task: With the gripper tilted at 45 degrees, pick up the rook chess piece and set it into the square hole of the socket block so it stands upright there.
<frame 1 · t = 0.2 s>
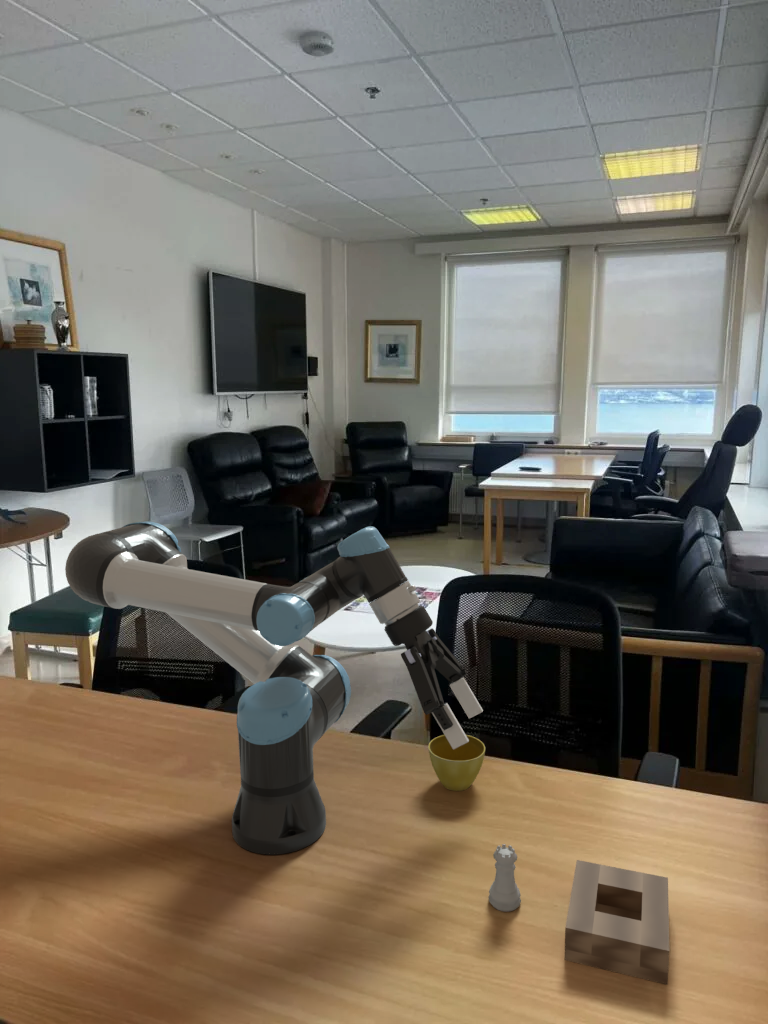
hand: (469, 729, 121), 16 cm above the table, tool tilted 35°, fingers open, 13 cm apart
rook chess piece: (504, 903, 103), on the table
flower pot: (456, 784, 134), on the table
socket block: (617, 932, 97), on the table
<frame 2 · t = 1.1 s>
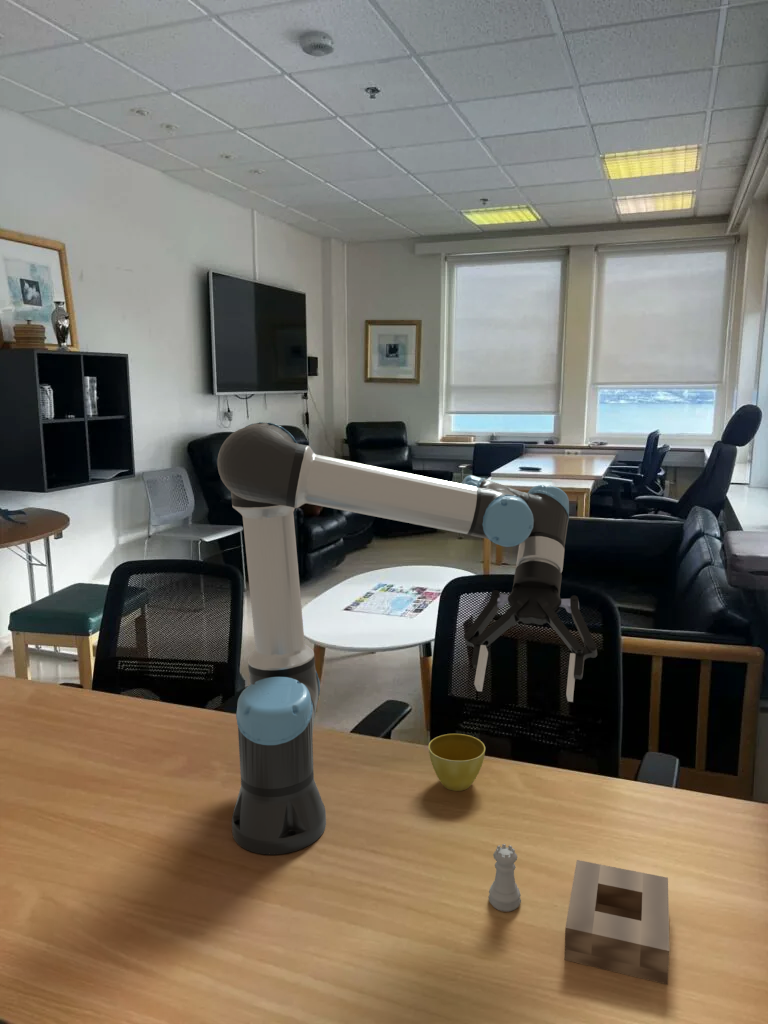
hand: (522, 693, 111), 25 cm above the table, tool tilted 45°, fingers open, 13 cm apart
nothing on the table moved.
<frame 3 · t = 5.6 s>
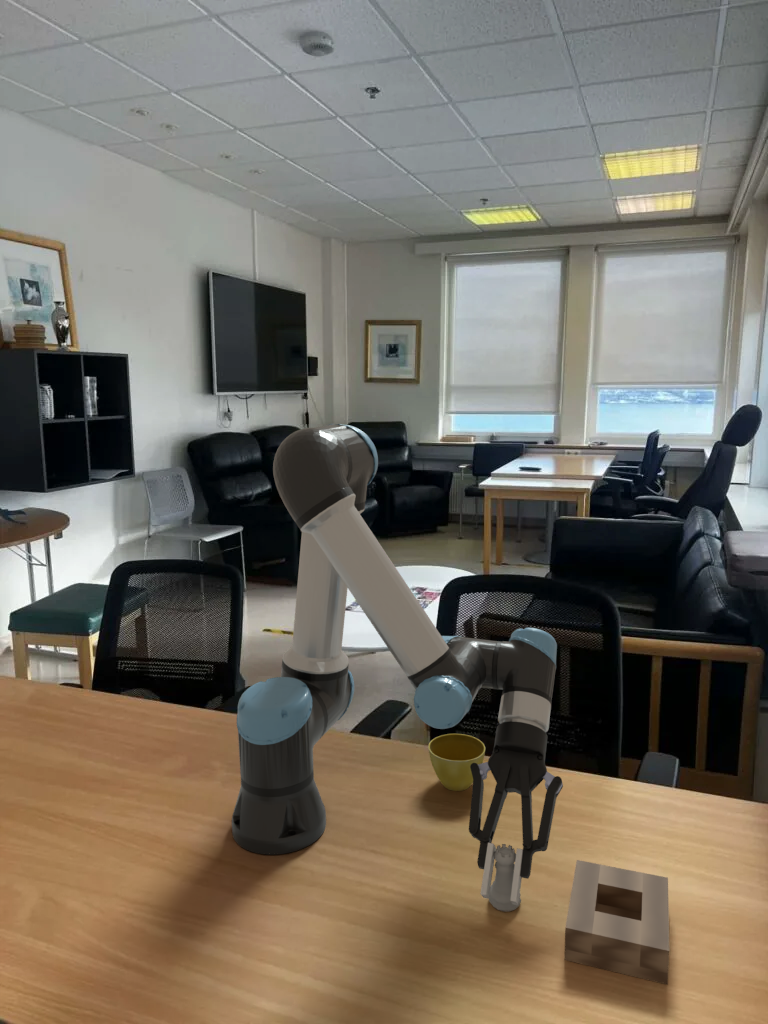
hand: (499, 899, 99), 3 cm above the table, tool tilted 45°, fingers closed on rook chess piece, 3 cm apart
rook chess piece: (504, 903, 103), on the table, touching gripper
everything else where it was.
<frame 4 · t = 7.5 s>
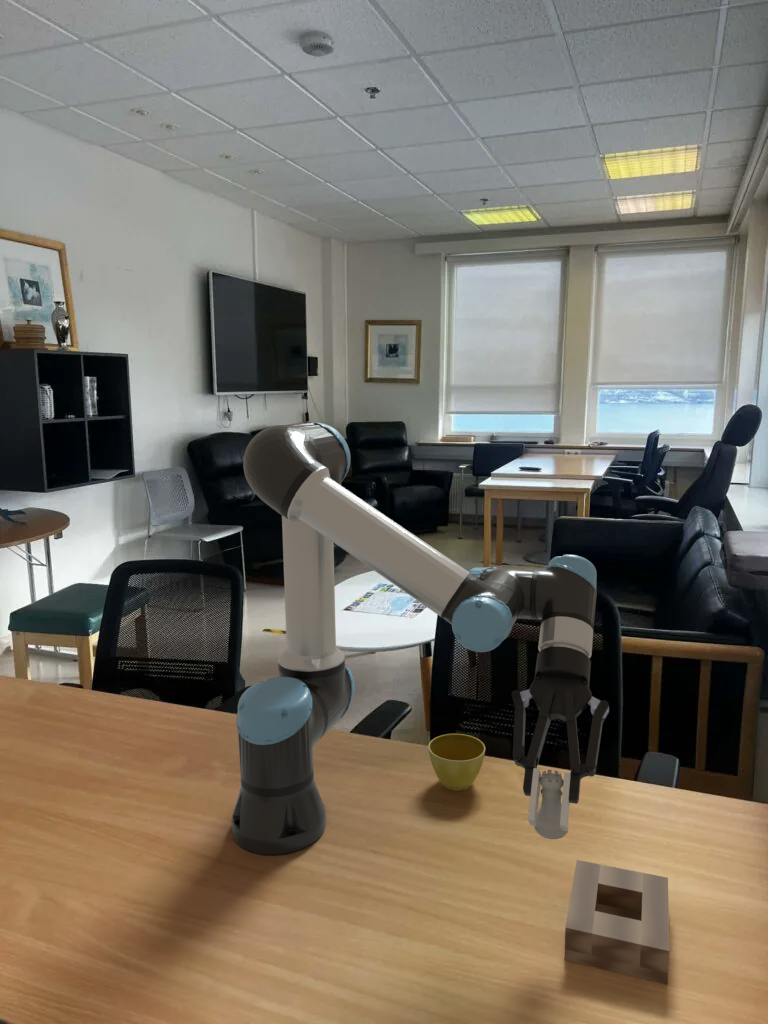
hand: (547, 824, 95), 15 cm above the table, tool tilted 45°, fingers closed on rook chess piece, 3 cm apart
rook chess piece: (551, 832, 99), point 12 cm above the table, touching gripper
everything else where it was.
when the fingers open (9 cm above the table, at t = 9.5 s): rook chess piece drops 4 cm, resting on socket block.
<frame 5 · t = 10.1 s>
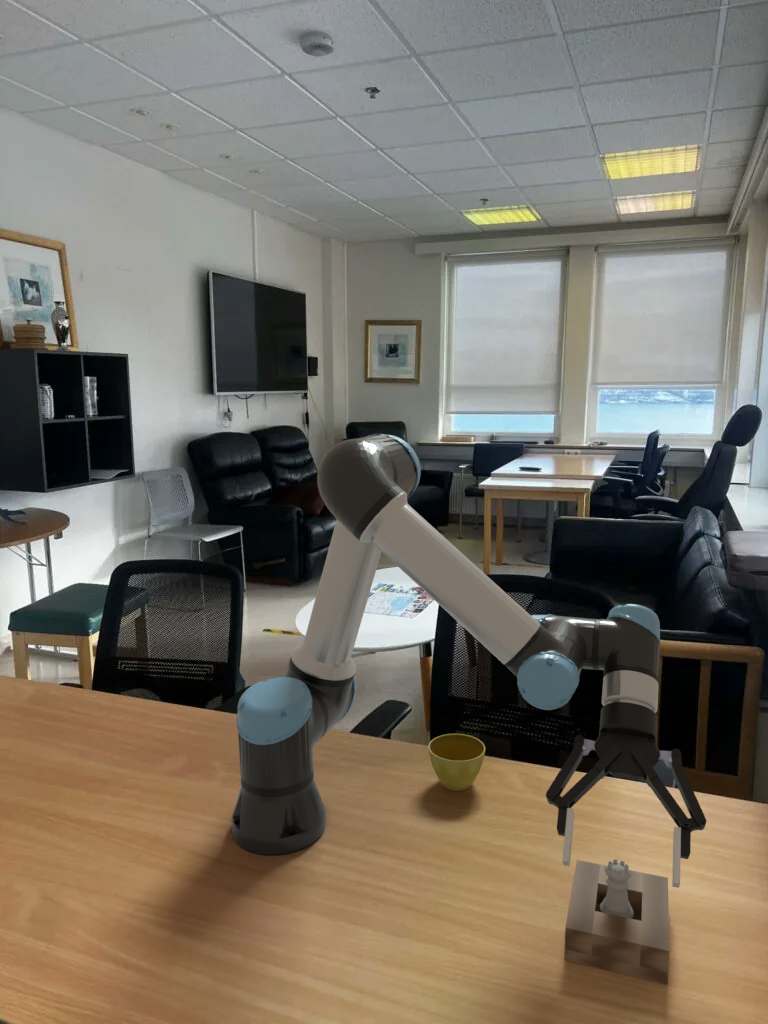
hand: (619, 874, 93), 10 cm above the table, tool tilted 45°, fingers open, 12 cm apart
rook chess piece: (616, 922, 97), point 1 cm above the table, touching socket block
everything else where it was.
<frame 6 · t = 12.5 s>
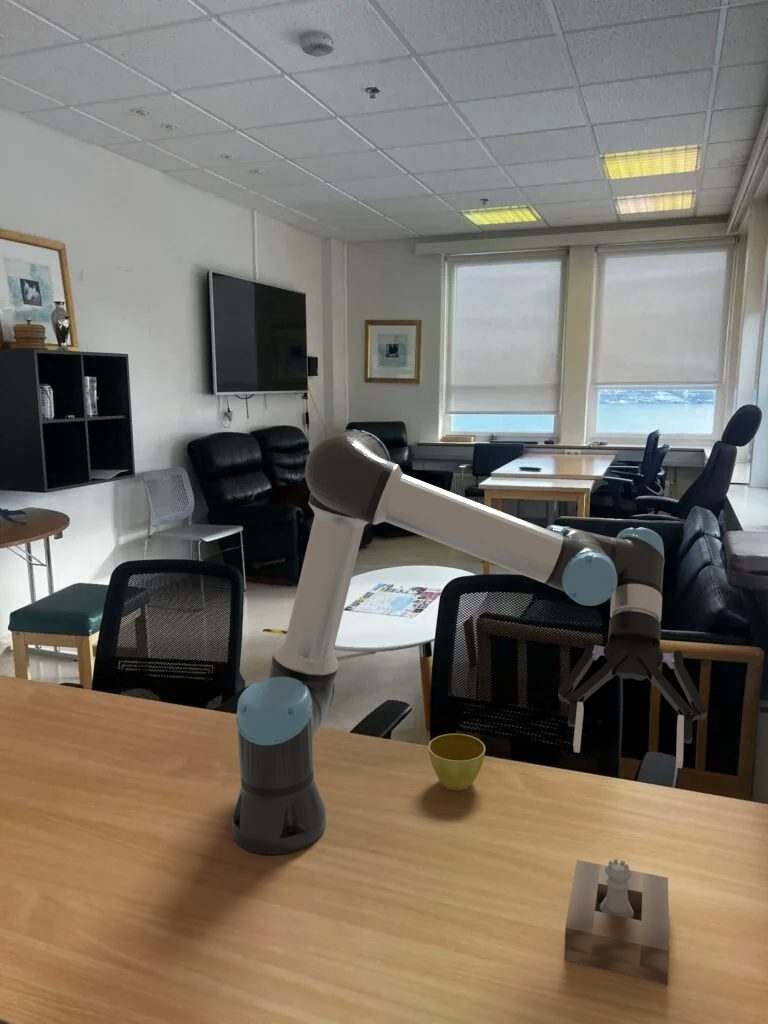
hand: (626, 757, 103), 19 cm above the table, tool tilted 45°, fingers open, 13 cm apart
nothing on the table moved.
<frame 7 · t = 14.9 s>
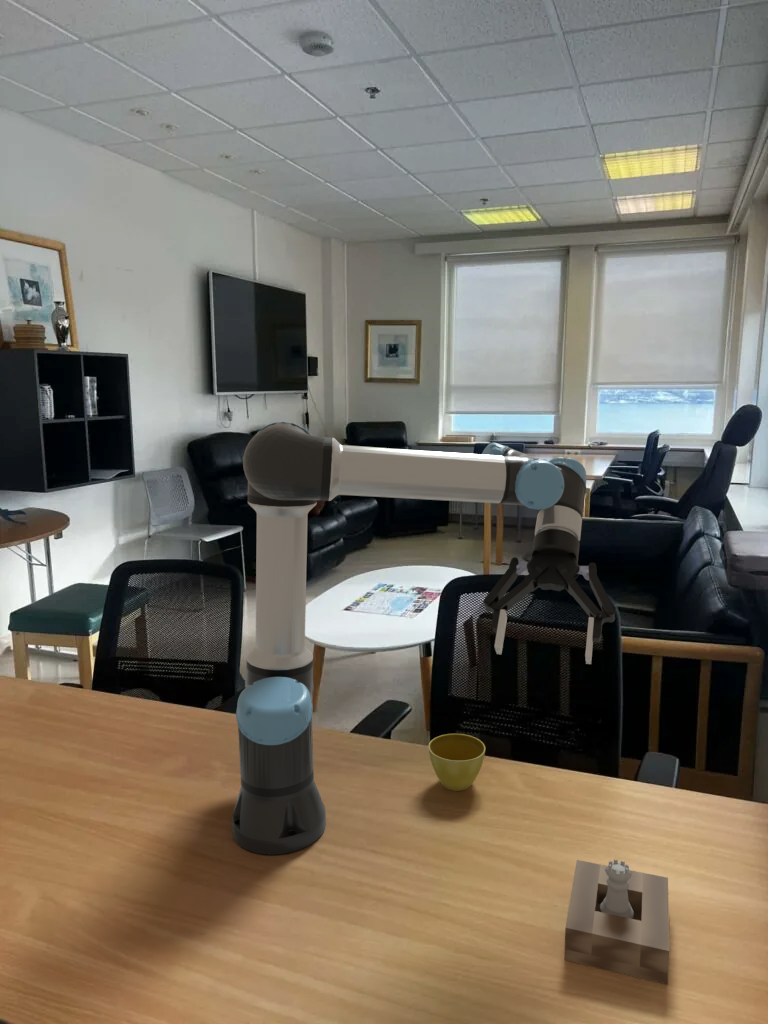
hand: (542, 655, 114), 30 cm above the table, tool tilted 45°, fingers open, 13 cm apart
nothing on the table moved.
at the end: rook chess piece 0.2 cm off-centre on the socket block, point 1.3 cm above the socket block's base; rook chess piece tilted 0°; the gripper is holding nothing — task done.
